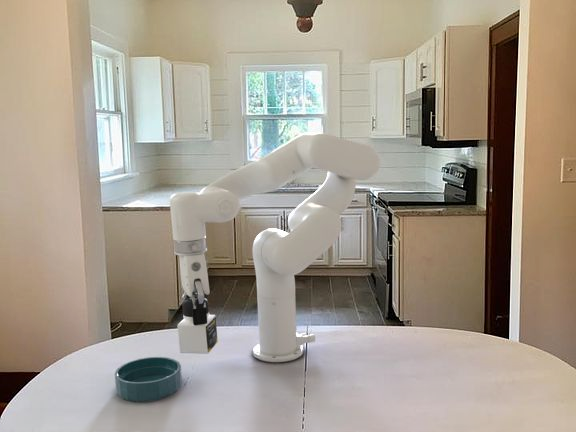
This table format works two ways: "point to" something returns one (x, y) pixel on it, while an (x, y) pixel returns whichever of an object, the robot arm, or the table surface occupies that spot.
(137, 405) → the table surface
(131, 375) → the dish
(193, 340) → the medicine bottle
